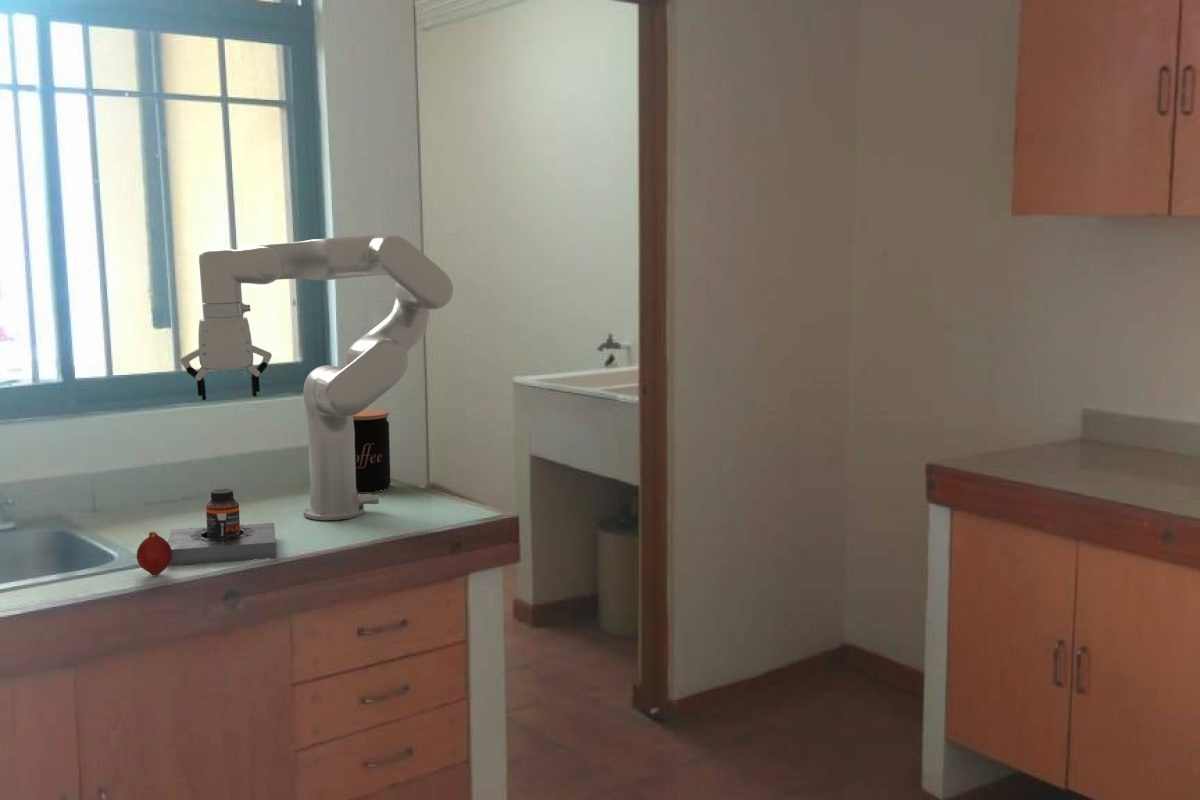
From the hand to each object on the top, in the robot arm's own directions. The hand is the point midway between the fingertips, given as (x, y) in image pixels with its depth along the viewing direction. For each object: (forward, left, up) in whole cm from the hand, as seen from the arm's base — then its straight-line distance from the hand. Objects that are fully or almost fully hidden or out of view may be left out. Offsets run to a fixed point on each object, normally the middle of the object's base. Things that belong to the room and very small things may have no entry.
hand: (229, 397), depth 235 cm
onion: (+13, +31, -27) cm, 43 cm away
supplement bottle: (+2, +16, -27) cm, 31 cm away
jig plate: (+2, +18, -27) cm, 32 cm away
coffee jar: (-29, -29, -27) cm, 49 cm away
